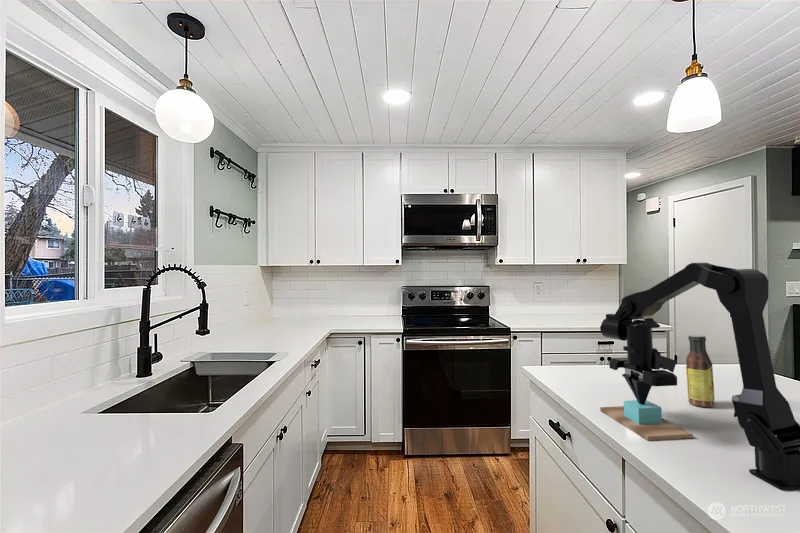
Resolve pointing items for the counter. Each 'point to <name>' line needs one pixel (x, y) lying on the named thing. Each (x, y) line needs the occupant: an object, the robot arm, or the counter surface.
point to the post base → (647, 426)
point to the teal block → (643, 412)
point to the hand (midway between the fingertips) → (641, 404)
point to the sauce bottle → (699, 373)
